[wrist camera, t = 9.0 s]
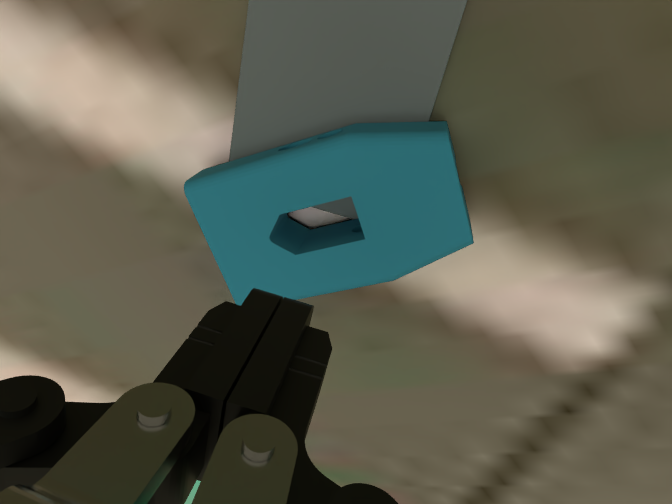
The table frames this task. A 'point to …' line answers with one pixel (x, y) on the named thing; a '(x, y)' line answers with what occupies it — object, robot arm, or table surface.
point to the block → (325, 186)
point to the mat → (338, 69)
